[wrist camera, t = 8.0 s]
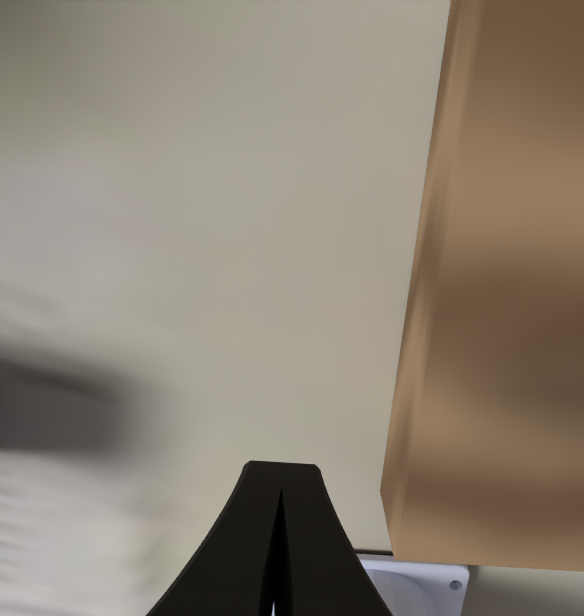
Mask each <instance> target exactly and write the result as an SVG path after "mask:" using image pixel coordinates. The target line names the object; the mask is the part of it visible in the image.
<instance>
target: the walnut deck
mask: <svg viewBox="0 0 584 616" xmlns="http://www.w3.org/2000/svg"><path fill="white" fill-rule="evenodd" d="M380 492H381V497H382V502H383V507H384V512H385V517H386V522H387V527H388V532H389V537H390V542H391V547H392V552H393V556H394V560H399V561H415V562H432V563H449V564H466V565H482V566H499V567H516V568H533V569H550V570H566V571H583V572H584V0H451V4H450V11H449V18H448V25H447V32H446V39H445V46H444V53H443V60H442V67H441V74H440V81H439V87H438V94H437V101H436V108H435V115H434V122H433V129H432V136H431V143H430V150H429V157H428V164H427V170H426V177H425V184H424V191H423V198H422V205H421V212H420V219H419V226H418V233H417V240H416V247H415V253H414V260H413V267H412V274H411V281H410V288H409V295H408V302H407V309H406V316H405V323H404V330H403V336H402V343H401V350H400V357H399V364H398V371H397V378H396V385H395V392H394V399H393V406H392V413H391V419H390V426H389V433H388V440H387V447H386V454H385V461H384V468H383V475H382V482H381V489H380Z"/></svg>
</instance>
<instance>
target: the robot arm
mask: <svg viewBox="0 0 584 616" xmlns="http://www.w3.org/2000/svg"><path fill="white" fill-rule="evenodd" d="M469 577H470V572H469V569H468V566H467V565H466V564H449V563H432V562H415V561H399V560H394V556H386V555H369V554H356V553H355V551H354V549H353V547H352V545H351V543H350V541H349V539H348V537H347V535H346V533H345V531H344V529H343V527H342V525H341V523H340V521H339V519H338V516H337V514H336V512H335V510H334V507H333V505H332V503H331V500H330V498H329V495H328V493H327V490H326V487H325V484H324V481H323V478H322V475H321V470H320V469H319V468H318V467H317V466H316V465H315V464H300V463H283V462H267V461H249V462H248V463H246V464H245V465H244V467H243V470H242V473H241V475H240V477H239V480H238V482H237V484H236V486H235V488H234V490H233V492H232V494H231V496H230V497H229V499H228V501H227V503H226V505H225V507H224V508H223V510H222V512H221V513H220V515H219V516H218V518H217V520H216V521H215V523H214V525H213V526H212V528H211V529H210V531H209V533H208V534H207V536H206V537H205V539H204V540H203V542H202V543H201V545H200V546H199V548H198V549H197V550H196V552H195V553H194V555H193V556H192V557H191V559H190V560H189V561H188V563H187V564H186V566H185V567H184V568H183V570H182V571H181V573H180V574H179V575H178V577H177V578H176V579H175V581H174V582H173V583H172V584H171V586H170V587H169V588H168V590H167V591H166V592H165V593H164V595H163V596H162V597H161V598H160V599H159V601H158V602H157V603H156V604H155V605H154V607H153V608H152V609H151V610H150V611H149V612H148V614H147V615H146V616H461V611H462V607H463V603H464V598H465V594H466V590H467V585H468V581H469ZM455 580H458V581H456V582H452V581H455Z"/></svg>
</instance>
